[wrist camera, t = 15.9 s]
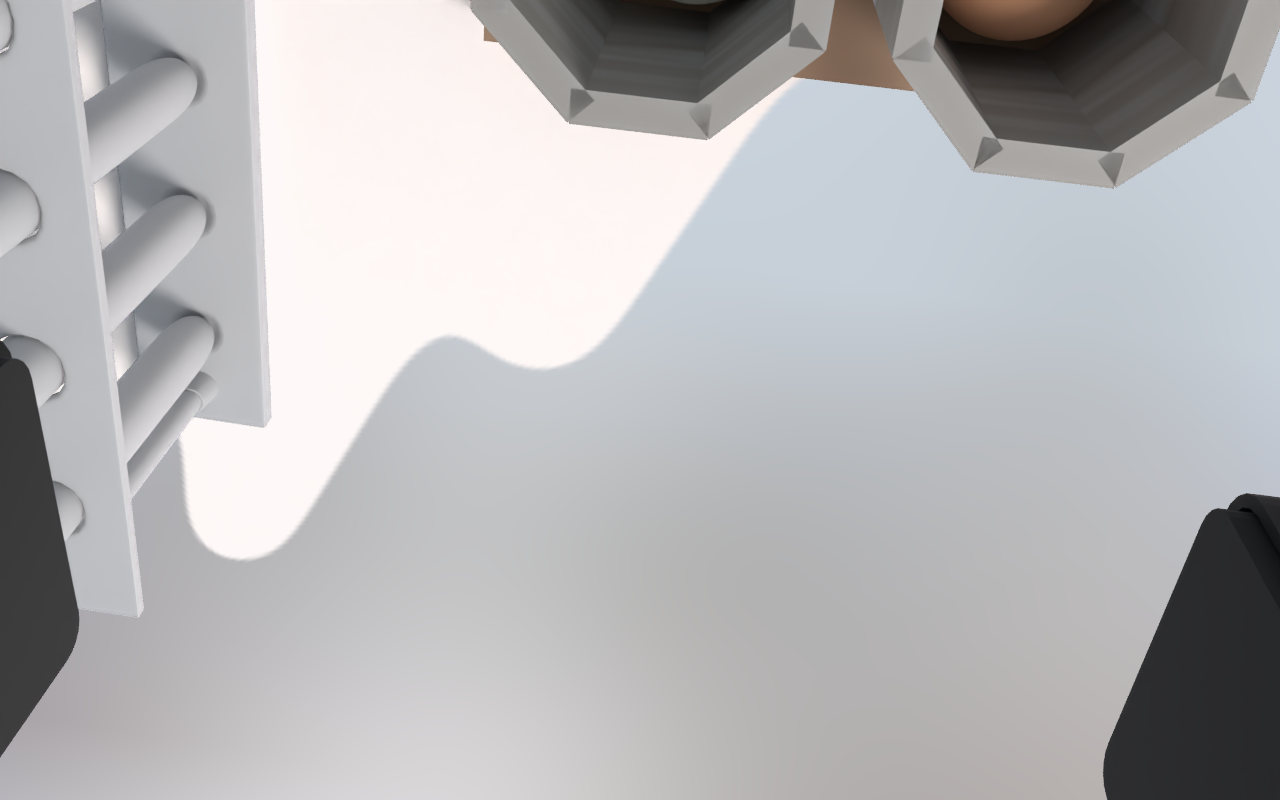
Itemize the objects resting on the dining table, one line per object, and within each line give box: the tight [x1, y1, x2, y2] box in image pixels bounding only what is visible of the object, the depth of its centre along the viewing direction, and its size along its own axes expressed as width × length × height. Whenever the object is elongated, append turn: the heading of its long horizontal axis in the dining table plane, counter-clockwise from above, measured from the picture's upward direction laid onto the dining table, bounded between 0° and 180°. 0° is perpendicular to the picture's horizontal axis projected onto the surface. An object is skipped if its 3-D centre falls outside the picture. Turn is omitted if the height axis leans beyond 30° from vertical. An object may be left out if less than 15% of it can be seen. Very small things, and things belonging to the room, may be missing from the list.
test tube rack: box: [0, 0, 271, 618], centre depth 32 cm, size 25×4×13 cm, turn 173°
